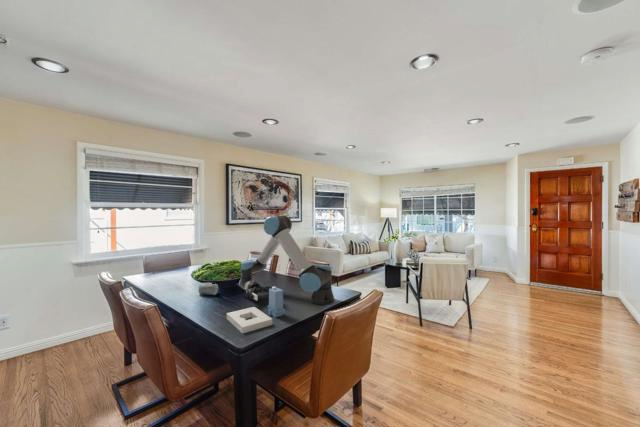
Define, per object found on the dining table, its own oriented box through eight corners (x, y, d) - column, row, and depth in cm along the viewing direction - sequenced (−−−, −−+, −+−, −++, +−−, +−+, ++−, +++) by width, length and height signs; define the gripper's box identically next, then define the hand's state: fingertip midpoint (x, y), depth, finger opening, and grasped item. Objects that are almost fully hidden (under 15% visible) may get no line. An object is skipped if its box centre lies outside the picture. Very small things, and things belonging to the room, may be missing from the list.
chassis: (272, 324, 138) (272, 318, 138) (242, 333, 128) (242, 327, 128) (254, 311, 156) (254, 306, 155) (226, 318, 146) (226, 313, 146)
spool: (193, 291, 183) (200, 277, 187) (201, 293, 192) (208, 280, 195) (208, 298, 179) (215, 284, 182) (216, 300, 187) (223, 286, 191)
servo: (284, 316, 149) (284, 289, 149) (275, 319, 145) (275, 291, 145) (275, 310, 158) (275, 284, 157) (265, 312, 154) (265, 286, 154)
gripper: (270, 289, 184) (286, 297, 167) (234, 296, 169) (247, 306, 152) (270, 278, 184) (286, 285, 167) (234, 285, 168) (247, 293, 152)
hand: (267, 295), depth 159 cm, fingers open, 13 cm apart
